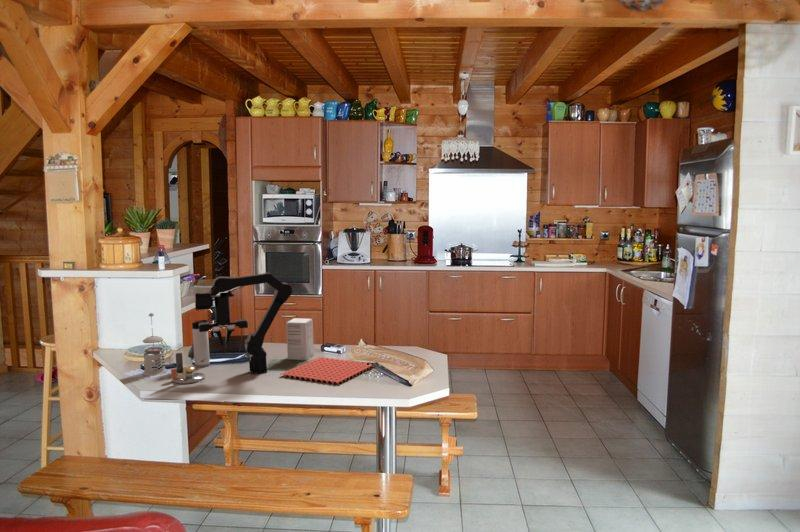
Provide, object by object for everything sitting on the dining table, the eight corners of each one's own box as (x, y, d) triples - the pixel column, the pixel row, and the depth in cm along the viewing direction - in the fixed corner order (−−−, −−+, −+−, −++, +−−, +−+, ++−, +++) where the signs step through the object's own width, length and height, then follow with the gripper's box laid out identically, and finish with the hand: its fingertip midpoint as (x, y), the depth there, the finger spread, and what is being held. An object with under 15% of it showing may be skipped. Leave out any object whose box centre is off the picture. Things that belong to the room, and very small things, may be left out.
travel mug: (206, 367, 257) (203, 321, 255) (191, 367, 259) (188, 321, 256) (213, 363, 263) (210, 318, 261) (199, 363, 265) (196, 318, 263)
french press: (137, 374, 250) (132, 314, 247) (157, 366, 261) (153, 309, 258) (155, 376, 246) (151, 316, 244) (175, 368, 257) (172, 310, 254)
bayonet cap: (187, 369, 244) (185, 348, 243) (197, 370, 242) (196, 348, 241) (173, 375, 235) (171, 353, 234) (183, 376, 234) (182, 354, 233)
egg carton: (279, 378, 242) (279, 373, 242) (320, 361, 266) (320, 356, 266) (338, 387, 229) (338, 382, 228) (375, 368, 253) (375, 363, 253)
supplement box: (295, 354, 277) (293, 317, 275) (314, 354, 275) (312, 318, 273) (287, 359, 268) (285, 322, 266) (307, 360, 266) (305, 322, 264)
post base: (204, 373, 249) (203, 361, 248) (205, 381, 237) (205, 369, 237) (171, 377, 244) (171, 365, 244) (171, 385, 233) (171, 373, 233)
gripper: (244, 303, 253) (246, 339, 255) (197, 306, 247) (199, 344, 249) (247, 307, 243) (248, 345, 245) (198, 311, 237) (200, 350, 238)
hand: (224, 346), depth 244 cm, fingers closed
